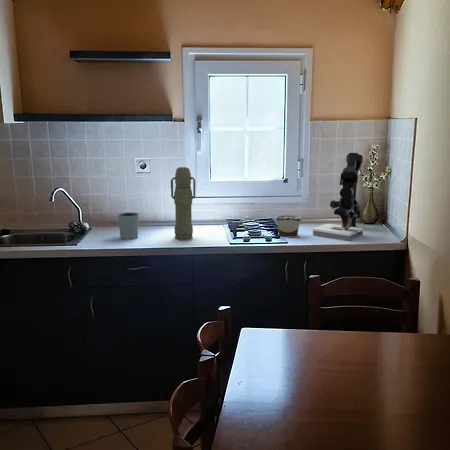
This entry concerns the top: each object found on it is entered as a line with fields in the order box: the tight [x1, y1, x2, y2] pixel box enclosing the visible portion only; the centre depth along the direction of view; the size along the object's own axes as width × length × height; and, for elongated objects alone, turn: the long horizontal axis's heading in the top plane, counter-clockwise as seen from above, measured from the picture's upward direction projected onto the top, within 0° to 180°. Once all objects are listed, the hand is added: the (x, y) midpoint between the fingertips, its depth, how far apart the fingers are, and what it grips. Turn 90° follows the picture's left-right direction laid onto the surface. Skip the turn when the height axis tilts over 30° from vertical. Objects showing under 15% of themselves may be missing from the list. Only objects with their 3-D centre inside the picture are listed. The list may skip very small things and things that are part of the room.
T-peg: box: [341, 218, 351, 230], centre depth 268 cm, size 4×4×9 cm
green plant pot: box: [117, 212, 140, 241], centre depth 263 cm, size 10×10×12 cm
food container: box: [276, 214, 302, 238], centre depth 270 cm, size 12×6×10 cm, turn 84°
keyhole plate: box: [312, 223, 364, 242], centre depth 271 cm, size 16×20×4 cm
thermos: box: [170, 166, 196, 241], centre depth 260 cm, size 9×12×35 cm
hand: (346, 226), depth 268 cm, fingers closed on T-peg, 3 cm apart
